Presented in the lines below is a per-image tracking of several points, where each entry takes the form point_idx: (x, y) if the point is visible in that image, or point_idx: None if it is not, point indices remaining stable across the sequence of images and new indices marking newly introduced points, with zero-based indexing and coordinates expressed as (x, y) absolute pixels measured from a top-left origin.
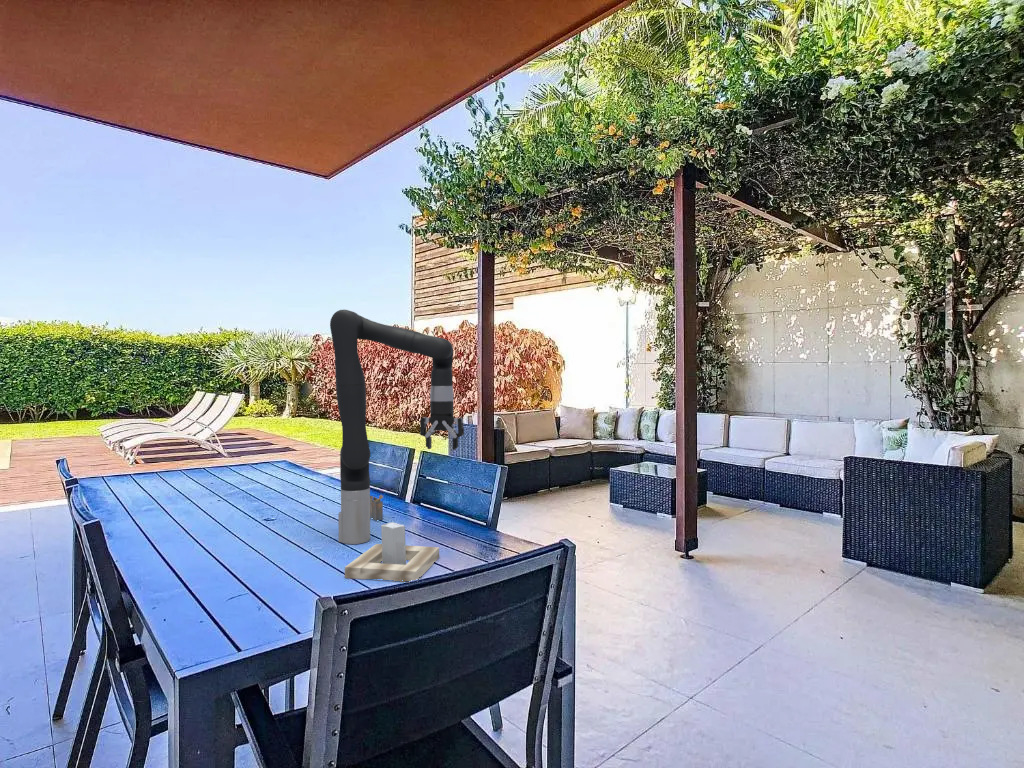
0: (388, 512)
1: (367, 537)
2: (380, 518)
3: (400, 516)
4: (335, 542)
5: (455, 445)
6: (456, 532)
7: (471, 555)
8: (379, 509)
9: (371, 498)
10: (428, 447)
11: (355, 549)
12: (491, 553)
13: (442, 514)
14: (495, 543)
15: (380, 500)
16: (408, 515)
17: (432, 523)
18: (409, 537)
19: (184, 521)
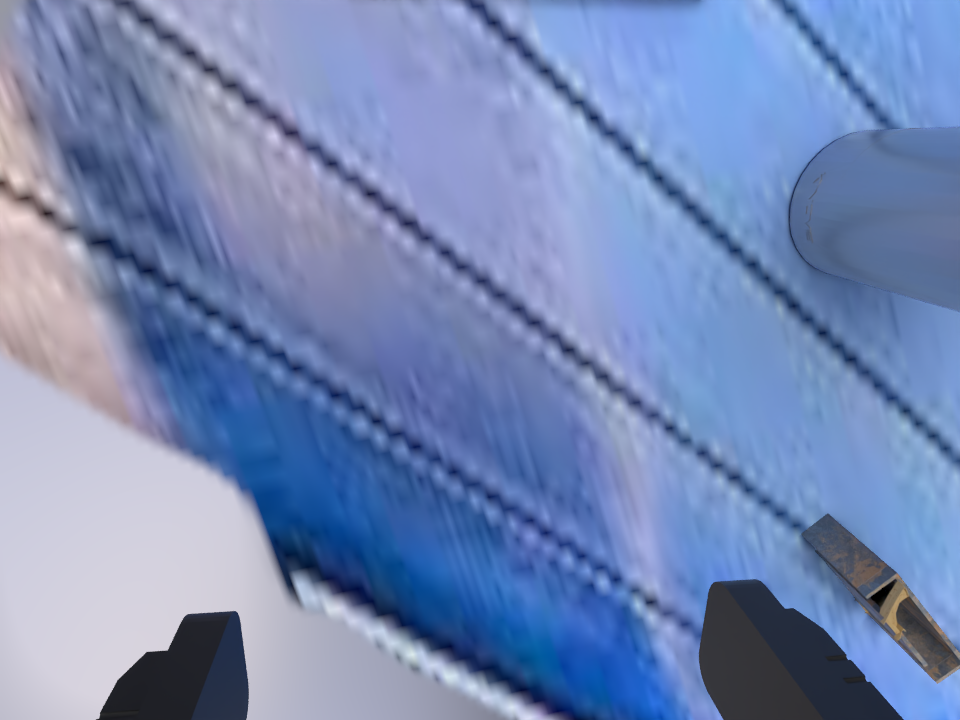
0: None
1: (806, 191)
2: (817, 534)
3: None
4: None
5: (149, 696)
6: (398, 430)
7: (181, 50)
8: (851, 558)
9: (930, 667)
10: (747, 590)
11: (822, 56)
12: (81, 106)
13: (553, 680)
14: (128, 288)
15: (879, 613)
16: None
17: (559, 542)
18: (607, 305)
19: None
